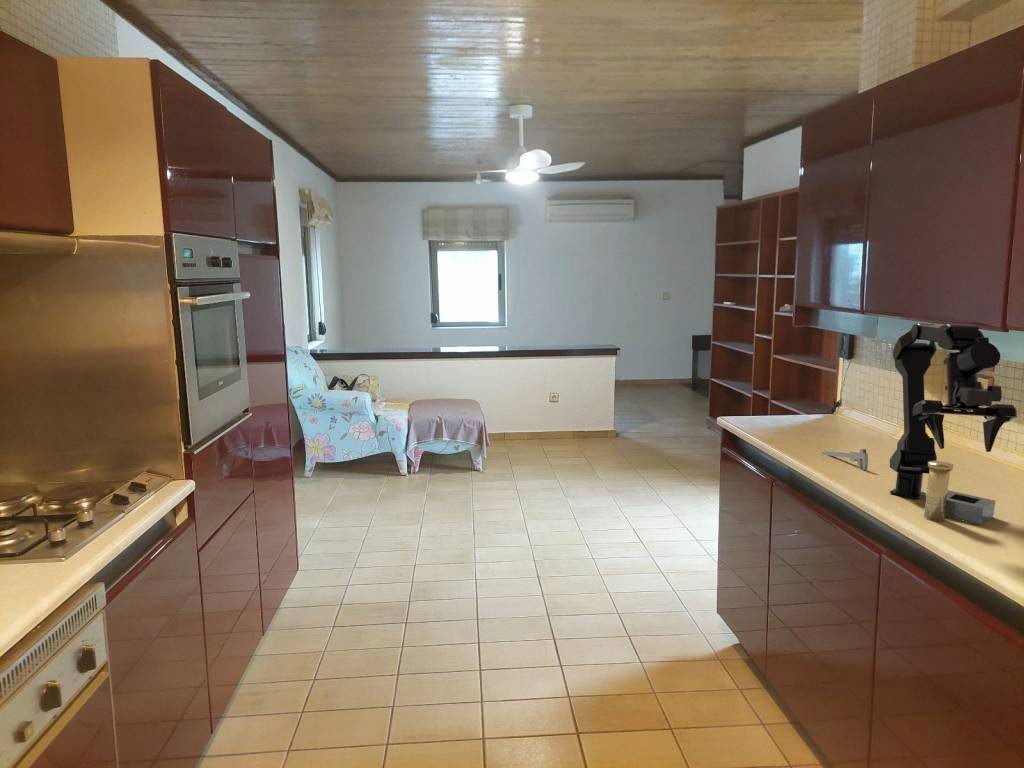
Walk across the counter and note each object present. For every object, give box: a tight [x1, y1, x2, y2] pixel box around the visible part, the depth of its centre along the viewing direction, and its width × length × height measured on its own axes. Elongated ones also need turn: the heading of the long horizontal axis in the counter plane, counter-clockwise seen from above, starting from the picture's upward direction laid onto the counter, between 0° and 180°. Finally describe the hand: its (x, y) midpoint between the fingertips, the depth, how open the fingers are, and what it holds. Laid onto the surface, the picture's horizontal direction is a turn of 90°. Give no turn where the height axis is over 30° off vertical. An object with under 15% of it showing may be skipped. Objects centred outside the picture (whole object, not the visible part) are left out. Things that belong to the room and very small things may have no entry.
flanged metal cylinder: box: [923, 460, 954, 522], centre depth 164 cm, size 5×5×13 cm
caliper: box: [821, 448, 869, 471], centre depth 215 cm, size 20×1×6 cm, turn 10°
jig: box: [945, 489, 996, 526], centre depth 168 cm, size 9×10×4 cm
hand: (965, 450), depth 155 cm, fingers open, 9 cm apart
